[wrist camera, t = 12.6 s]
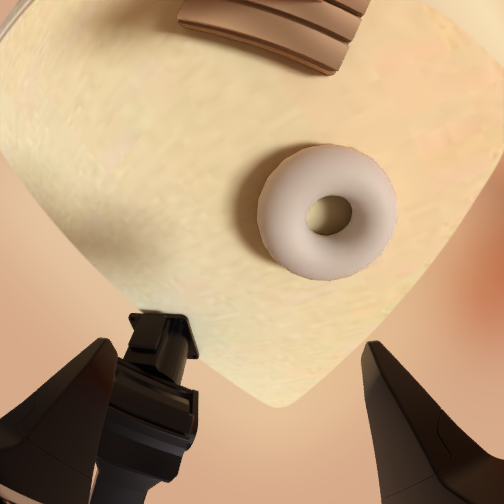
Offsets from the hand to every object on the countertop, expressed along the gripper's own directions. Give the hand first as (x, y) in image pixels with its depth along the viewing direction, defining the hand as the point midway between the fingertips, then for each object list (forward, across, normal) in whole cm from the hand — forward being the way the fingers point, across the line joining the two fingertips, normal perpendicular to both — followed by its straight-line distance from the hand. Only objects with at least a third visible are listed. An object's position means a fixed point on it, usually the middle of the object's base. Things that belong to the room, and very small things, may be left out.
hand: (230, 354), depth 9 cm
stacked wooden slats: (+13, -3, -15) cm, 20 cm away
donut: (+14, -5, +1) cm, 15 cm away
